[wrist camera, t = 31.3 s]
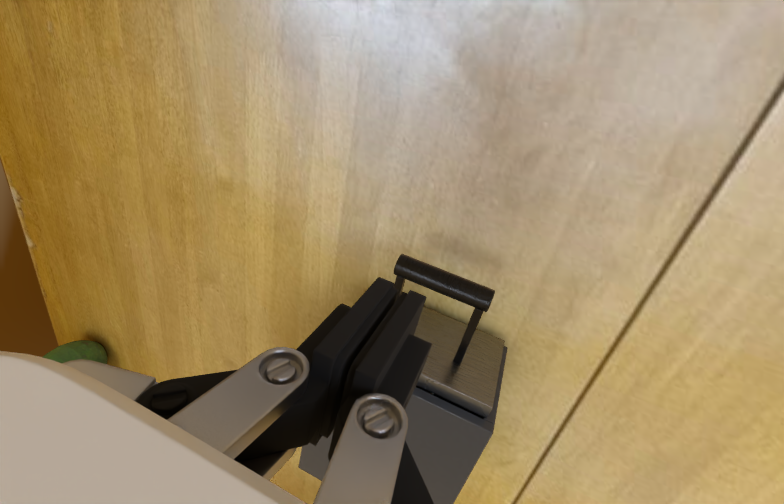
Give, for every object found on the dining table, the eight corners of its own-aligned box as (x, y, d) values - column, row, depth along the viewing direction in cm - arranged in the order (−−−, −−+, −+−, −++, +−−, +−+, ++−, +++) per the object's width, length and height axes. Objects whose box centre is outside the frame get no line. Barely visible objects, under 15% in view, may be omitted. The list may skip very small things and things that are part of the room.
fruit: (83, 348, 64) (-6, 398, 53) (87, 321, 59) (-9, 370, 49) (117, 378, 63) (34, 434, 53) (124, 353, 59) (35, 409, 49)
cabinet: (370, 289, 36) (318, 348, 28) (507, 347, 33) (493, 433, 25) (345, 396, 44) (298, 467, 36) (455, 451, 41) (430, 544, 33)
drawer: (391, 220, 32) (348, 257, 25) (536, 275, 29) (532, 333, 22) (349, 390, 42) (311, 448, 35) (454, 443, 39) (434, 516, 32)
